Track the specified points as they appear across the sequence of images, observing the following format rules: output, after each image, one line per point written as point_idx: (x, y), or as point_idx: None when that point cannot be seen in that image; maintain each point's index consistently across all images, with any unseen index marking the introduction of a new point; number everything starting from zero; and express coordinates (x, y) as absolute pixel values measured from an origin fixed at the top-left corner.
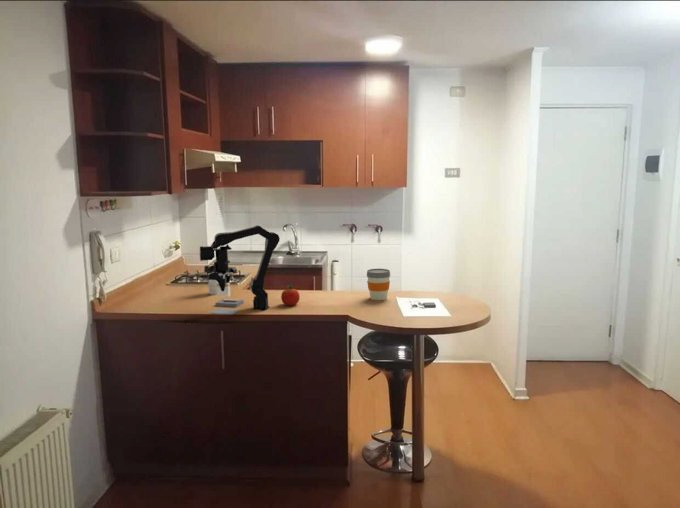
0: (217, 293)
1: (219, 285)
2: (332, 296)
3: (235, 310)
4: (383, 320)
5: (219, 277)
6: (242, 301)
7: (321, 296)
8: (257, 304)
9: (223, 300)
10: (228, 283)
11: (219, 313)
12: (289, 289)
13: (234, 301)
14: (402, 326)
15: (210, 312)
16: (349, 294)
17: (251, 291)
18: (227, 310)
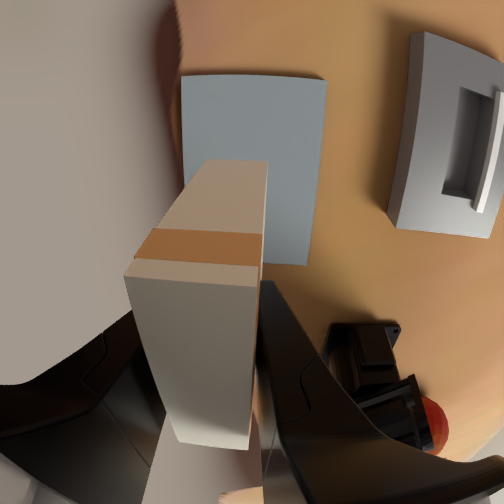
0: (197, 176)
1: (108, 330)
2: (463, 436)
3: (283, 245)
4: (249, 497)
5: None
6: (472, 234)
7: (475, 421)
8: (334, 366)
9: (495, 86)
10: (203, 443)
11: (183, 161)
12: (435, 450)
13: (476, 179)
14: (222, 501)
15: (190, 76)
16: (465, 447)
17: (372, 410)
18: (274, 188)
